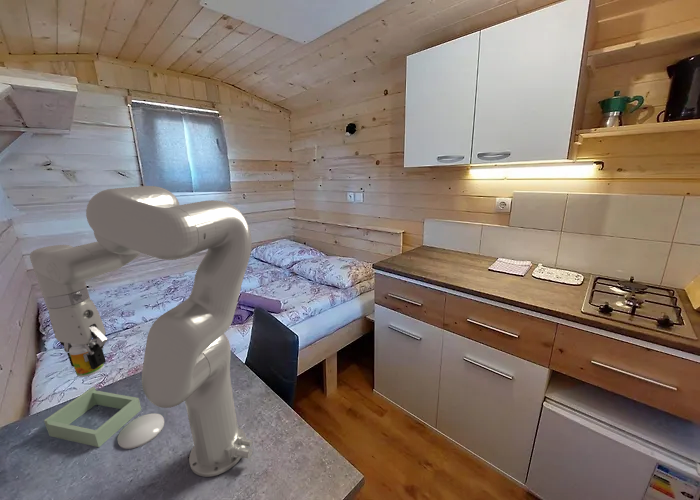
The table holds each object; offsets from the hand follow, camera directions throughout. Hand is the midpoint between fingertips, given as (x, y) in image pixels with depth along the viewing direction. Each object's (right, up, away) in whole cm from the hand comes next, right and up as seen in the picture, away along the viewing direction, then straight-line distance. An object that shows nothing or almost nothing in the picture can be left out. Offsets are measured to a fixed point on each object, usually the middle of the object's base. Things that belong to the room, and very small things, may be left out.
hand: (88, 363), depth 75 cm
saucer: (+11, -19, +3) cm, 22 cm away
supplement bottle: (0, -2, +1) cm, 2 cm away
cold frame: (-3, -18, +6) cm, 19 cm away
